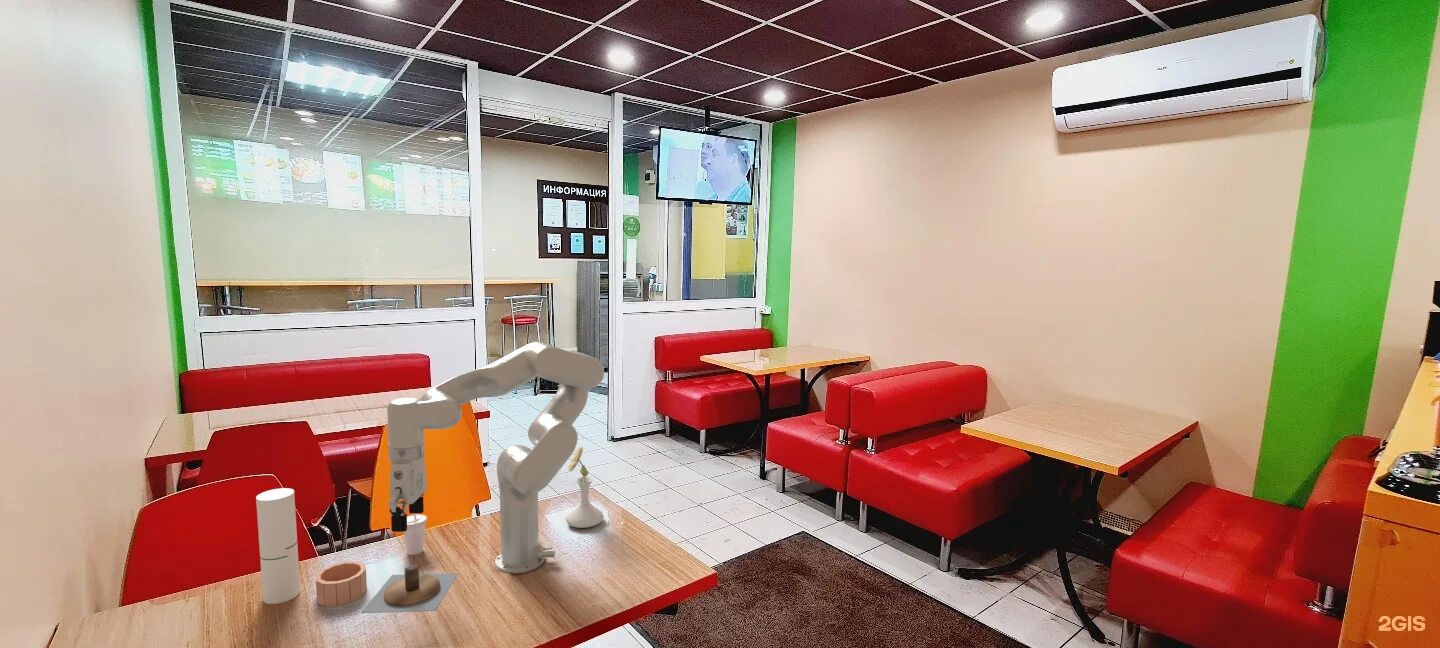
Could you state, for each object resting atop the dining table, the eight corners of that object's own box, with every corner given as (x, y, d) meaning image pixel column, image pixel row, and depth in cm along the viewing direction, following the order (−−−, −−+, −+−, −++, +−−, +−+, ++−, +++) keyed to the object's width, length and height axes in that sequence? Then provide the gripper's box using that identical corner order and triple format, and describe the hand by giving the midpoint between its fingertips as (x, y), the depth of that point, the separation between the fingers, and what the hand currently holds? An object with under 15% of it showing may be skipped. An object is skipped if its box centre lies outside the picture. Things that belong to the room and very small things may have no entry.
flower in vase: (572, 513, 193) (572, 436, 190) (608, 516, 192) (608, 439, 189) (557, 532, 180) (557, 450, 177) (595, 535, 179) (595, 453, 176)
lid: (447, 577, 154) (446, 555, 153) (429, 605, 142) (428, 581, 141) (396, 578, 152) (396, 556, 152) (374, 607, 140) (373, 582, 140)
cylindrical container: (307, 590, 147) (301, 490, 144) (277, 606, 141) (270, 502, 138) (286, 584, 150) (279, 486, 146) (255, 600, 143) (248, 497, 140)
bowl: (374, 583, 151) (373, 560, 150) (354, 607, 141) (352, 583, 140) (331, 585, 150) (329, 561, 149) (307, 608, 140) (306, 584, 139)
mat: (458, 575, 156) (458, 573, 156) (435, 612, 140) (435, 610, 140) (392, 577, 154) (392, 574, 154) (361, 615, 138) (361, 612, 138)
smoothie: (433, 548, 169) (431, 499, 167) (419, 560, 163) (417, 509, 161) (411, 546, 170) (409, 498, 168) (396, 558, 163) (394, 508, 162)
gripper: (408, 464, 134) (409, 538, 136) (436, 440, 151) (437, 506, 153) (372, 464, 134) (374, 539, 136) (405, 440, 151) (406, 506, 153)
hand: (408, 521), depth 145 cm, fingers open, 9 cm apart
